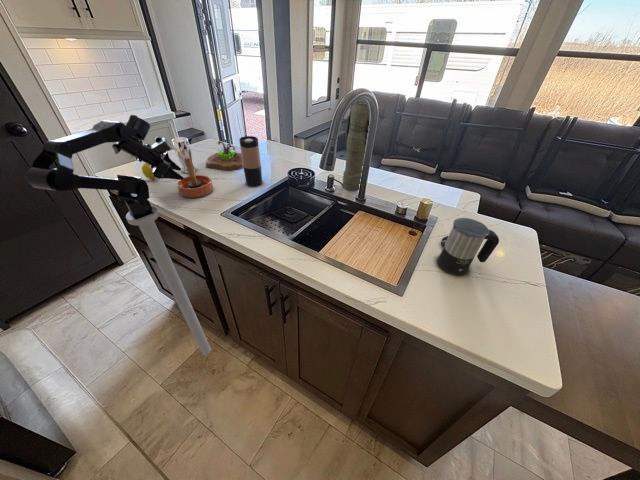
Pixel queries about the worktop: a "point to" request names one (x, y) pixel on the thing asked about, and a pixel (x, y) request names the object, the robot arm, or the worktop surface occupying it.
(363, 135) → the green banded column
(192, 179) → the dish brush
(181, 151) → the beer glass
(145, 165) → the lemon
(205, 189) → the bowl
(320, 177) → the worktop surface
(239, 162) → the plant
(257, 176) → the travel mug
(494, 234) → the milk frother
